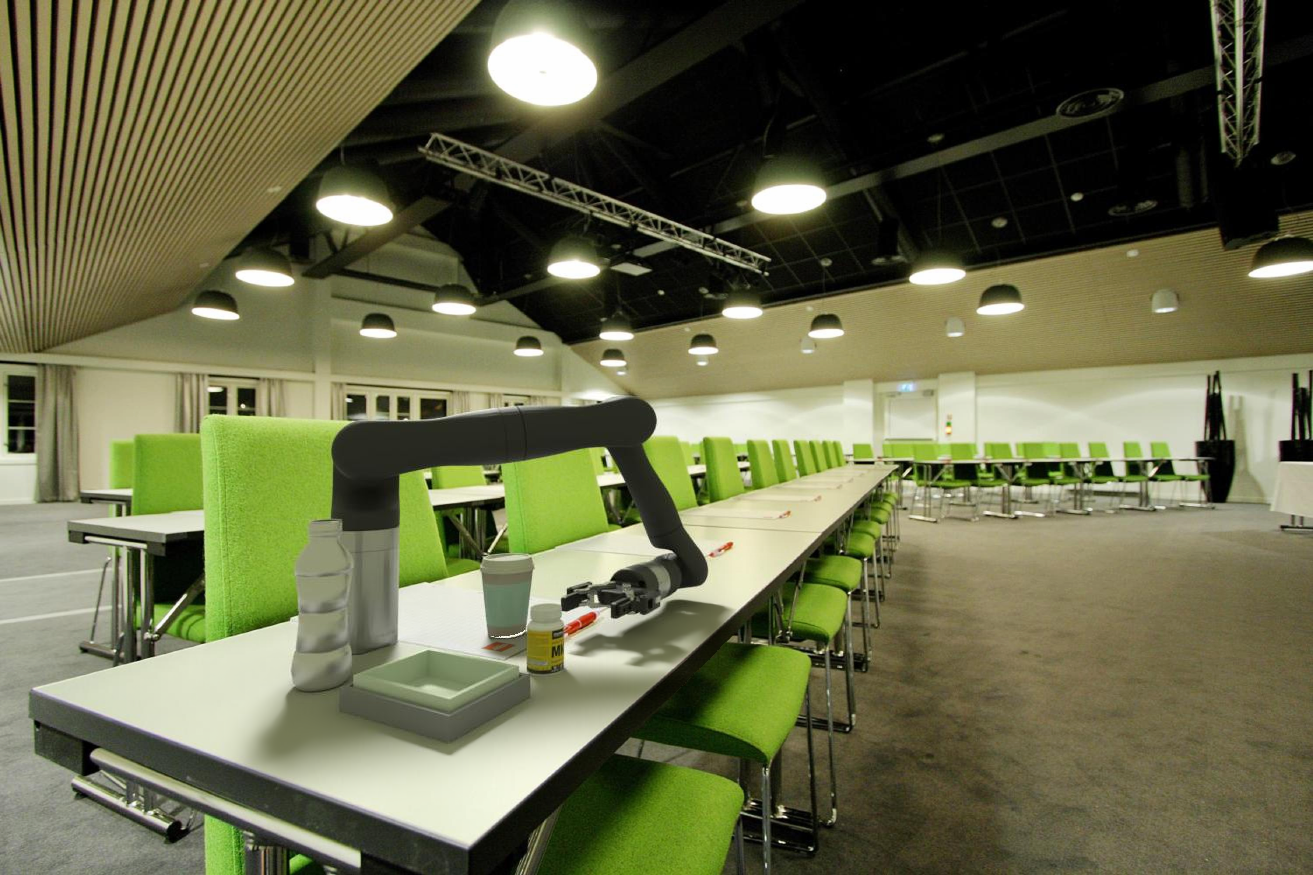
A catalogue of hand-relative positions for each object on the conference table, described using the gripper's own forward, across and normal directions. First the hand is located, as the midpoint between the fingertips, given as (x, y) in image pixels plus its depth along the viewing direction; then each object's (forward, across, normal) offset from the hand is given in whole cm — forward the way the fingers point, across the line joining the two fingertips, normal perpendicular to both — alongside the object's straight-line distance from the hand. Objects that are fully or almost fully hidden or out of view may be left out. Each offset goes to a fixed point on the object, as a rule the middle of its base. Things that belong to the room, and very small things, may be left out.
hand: (587, 608), depth 84 cm
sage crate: (+24, -4, +6) cm, 25 cm away
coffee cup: (-1, -16, +6) cm, 17 cm away
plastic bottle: (+26, -21, +6) cm, 34 cm away
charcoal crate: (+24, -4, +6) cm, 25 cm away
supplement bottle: (+10, 0, +6) cm, 12 cm away
